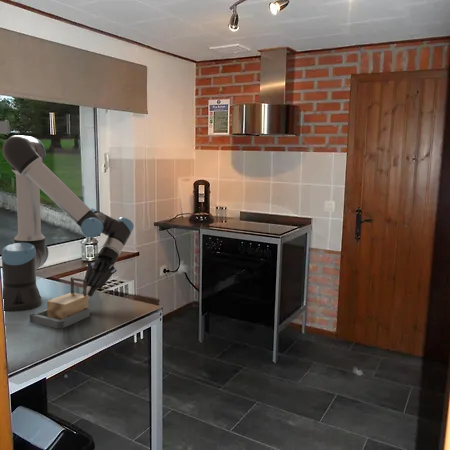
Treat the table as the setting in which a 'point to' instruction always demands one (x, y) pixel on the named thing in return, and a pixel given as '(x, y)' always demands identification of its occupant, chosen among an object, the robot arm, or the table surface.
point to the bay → (43, 319)
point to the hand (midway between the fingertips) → (82, 302)
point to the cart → (68, 302)
